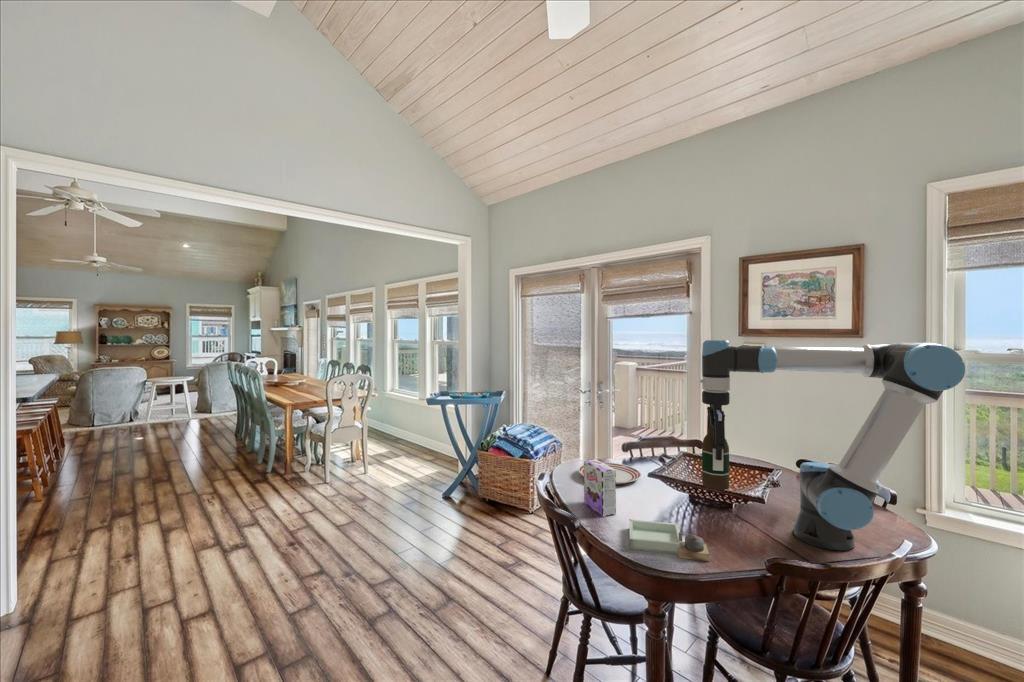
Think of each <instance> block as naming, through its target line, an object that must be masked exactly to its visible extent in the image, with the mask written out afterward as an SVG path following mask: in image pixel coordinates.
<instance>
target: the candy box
mask: <svg viewBox="0 0 1024 682" xmlns="http://www.w3.org/2000/svg"><path fill="white" fill-rule="evenodd" d="M583 465H584V476H583V481H584V482H583V483H584V484H583V486H584V487H583V488H584V489H583V490H584V491H583V492H584V498H583V500H584V501H583V503H584V504H585V505H586V506H588V507H589V508H590V509H591V510H593V511H594V512H595V513H597V514H598V515H599V516H601V517H602V518H605V517H606V518H607V517H613V516H617V508H616V507H617V505H616V504H617V503H616V502H617V498H616V497H617V495H616V491H617V490H616V489H617V485H616V469H613V468H611V467H609V466H608V465H606V464H604V463H602V461H601V460H598V459H597V458H593V459H587V460H583Z"/></svg>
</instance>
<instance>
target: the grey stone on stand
mask: <svg viewBox="0 0 1024 682" xmlns="http://www.w3.org/2000/svg"><path fill="white" fill-rule="evenodd" d="M679 540H680V541H683V532H681V531H680V532H679ZM677 542H678V541H677ZM678 543H679V542H678ZM683 544H684V548H678V554H677V557H678V558H679V559H686V560H696V561H706V562H710V552H709V549H708V547H707V544H706V543H705V542H704V538H702V537H701V536H698V535H695V534H690V535H686V536H685V537H684V541H683Z"/></svg>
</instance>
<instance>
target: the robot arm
mask: <svg viewBox="0 0 1024 682" xmlns="http://www.w3.org/2000/svg"><path fill="white" fill-rule="evenodd" d="M701 350H702V353H701V362H702V363H701V366H702V367H701V373H702V379H700V380H699V383H701V384H702V385H701V386H702V391H701V402H702V403H703V404H704V405H708V406H706V410H707V419H706V421H707V422H706V434H707V433H708V430H709V418H710V422H711V425H712V426H713V440H714V446H711V448H713V470H716V471H723V449H725V439H726V434H725V433H726V432H725V428H726V427H725V424H726V423H725V421H726V420H725V417H726V415H725V411H724V410H723V409H722V408H723V406H728V405H730V401H731V400H730V399H731V397H730V392H729V391H730V390H731V388H730V387H731V385H730V383H731V376H730V375H731V374H730V372H731V373H732V372H733V373H736V372H737V373H740V372H741V373H761V374H764V373H774V372H775V371H788V372H789V371H790V372H791V371H792V372H793V371H794V372H795V371H796V372H815V373H816V372H818V373H837V374H838V373H839V374H840V373H842V374H843V373H844V374H861V375H862V376H863V377H865V378H876V379H882V380H881V382H882V385H883V387H884V390H883V392H882V394H881V395H880V396H879V398H878V400H877V402H876V403H875V405H874V406H873V408H872V409H871V411H870V412H869V414H868V416H867V418H866V419H865V421H864V423H863V424H862V425H861V428H860V429H859V430H858V432H857V434H856V436H855V437H854V439H853V440H852V442H851V444H850V445H849V447H848V448H847V450H846V452H845V454H844V455H843V457H841V460H840V461H839V463H838V464H834V463H825V462H814V461H811V462H810V461H807V462H802V463H801V464H800V466H799V503H800V504H799V505H800V506H799V507H800V508H799V512H798V514H797V517H796V520H795V521H794V524H793V534H794V536H795V537H796V538H798V539H799V540H801V541H802V542H803V543H806V544H808V545H811V546H814V547H817V548H821V549H826V550H831V551H849V550H852V549H855V536H854V533H853V530H860V529H862V528H865V527H866V526H868V525H869V524H870V523H871V522H872V520H873V518H874V516H875V509H874V505H873V502H874V500H875V499H876V497H877V495H878V494H879V489H878V487H877V481H878V479H879V478H880V476H881V475H882V473H883V472H884V470H885V468H886V467H887V465H888V464H889V462H890V460H892V458H893V456H894V455H895V454H896V451H897V450H898V448H899V446H900V445H901V443H902V442H903V440H904V439H905V437H906V435H907V434H908V432H909V431H910V429H912V426H913V424H914V423H915V422H916V420H917V419H918V416H919V415H920V414H921V411H922V410H923V409H924V408H925V406H926V405H928V404H934V403H937V402H938V400H939V398H940V397H941V395H942V394H943V392H944V391H947V390H950V389H954V388H955V387H956V386H958V385H959V384H960V383H961V382H962V380H963V378H964V377H965V374H966V364H965V361H964V360H963V358H962V356H961V355H960V353H958V352H957V351H956V350H954V349H953V348H952V347H949V346H947V345H944V344H940V343H935V342H926V341H925V342H914V341H913V342H910V341H909V342H908V341H904V342H895V343H886V344H885V343H884V344H864V345H863V346H861V347H830V346H829V347H827V346H826V347H824V346H787V345H786V346H779V345H778V346H776V345H764V346H763V345H748V344H742V345H739V346H732V345H731V343H730V341H729V340H727V339H717V340H716V339H706V340H704V341H703V343H702V349H701ZM710 407H712V411H709V408H710Z"/></svg>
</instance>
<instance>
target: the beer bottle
mask: <svg viewBox="0 0 1024 682" xmlns="http://www.w3.org/2000/svg"><path fill="white" fill-rule="evenodd" d="M709 407H710V406H709ZM709 411H712V407H710V408H709ZM701 444H702V445H701V481H702V486H703V487H704V488H706V489H708V490H713V491H721V492H722V491H725V490H728V489H729V488H730V446H729V443H728V440H727V439H726V438H725V449H723V471H716V470H713V448H711V446H714V440H713V426H712V425H711V422H710V418H709V430H708V433H707V432H706V434H705V436H704V437H703V440H702V443H701Z"/></svg>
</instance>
